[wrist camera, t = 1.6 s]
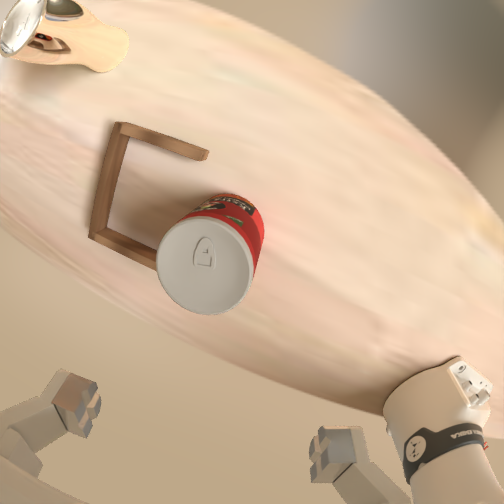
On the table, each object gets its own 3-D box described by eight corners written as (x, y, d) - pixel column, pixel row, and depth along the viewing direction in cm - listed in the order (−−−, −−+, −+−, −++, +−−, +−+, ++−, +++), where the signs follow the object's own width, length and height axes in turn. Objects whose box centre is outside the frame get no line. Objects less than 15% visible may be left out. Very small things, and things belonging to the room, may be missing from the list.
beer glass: (81, 78, 28) (-11, 66, 14) (92, 29, 25) (9, 0, 11) (126, 74, 27) (34, 50, 13) (138, 21, 25) (58, -24, 11)
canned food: (260, 188, 31) (244, 212, 20) (269, 260, 33) (259, 314, 23) (189, 196, 32) (144, 224, 21) (202, 265, 34) (168, 317, 24)
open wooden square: (209, 150, 30) (202, 151, 27) (170, 264, 35) (162, 273, 33) (126, 122, 29) (115, 121, 27) (99, 231, 35) (88, 237, 32)
